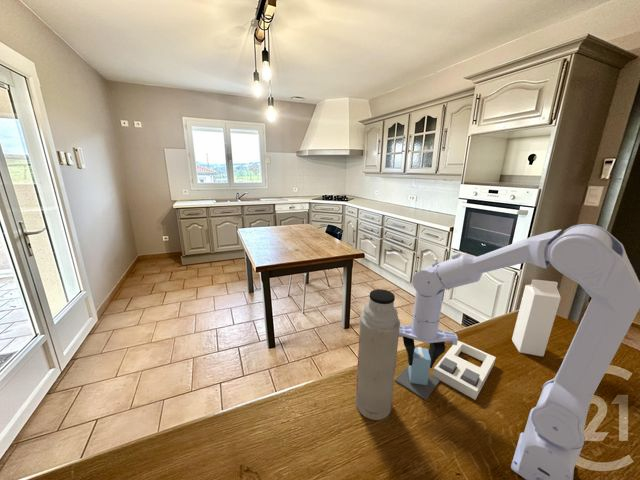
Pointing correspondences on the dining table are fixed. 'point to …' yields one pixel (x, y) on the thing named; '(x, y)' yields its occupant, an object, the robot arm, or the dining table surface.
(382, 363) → the thermos bottle
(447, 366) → the plunger far
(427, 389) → the mat
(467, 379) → the plunger near
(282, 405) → the dining table surface
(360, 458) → the dining table surface
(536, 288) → the milk
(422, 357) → the block
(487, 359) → the housing
